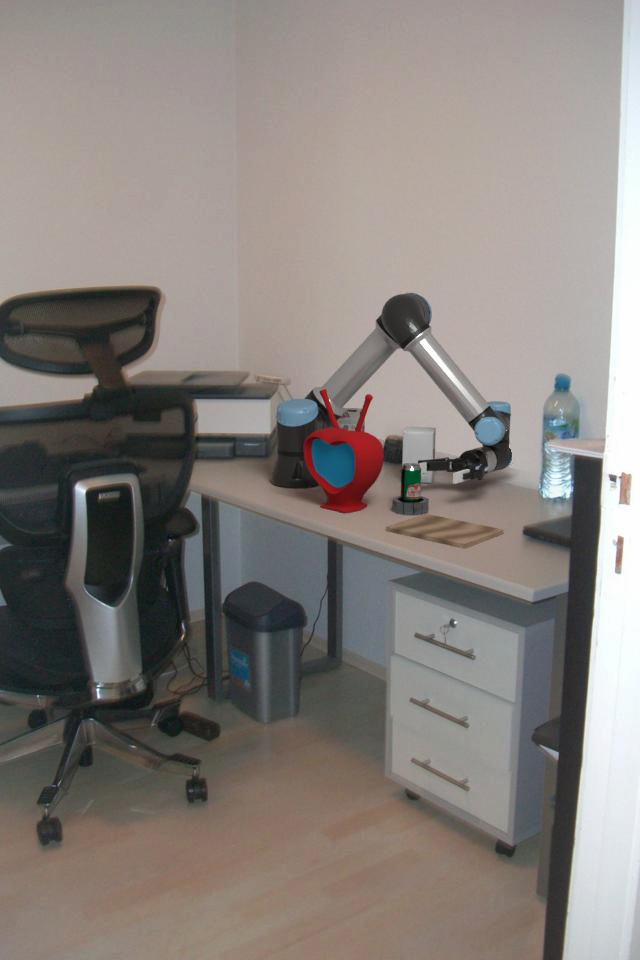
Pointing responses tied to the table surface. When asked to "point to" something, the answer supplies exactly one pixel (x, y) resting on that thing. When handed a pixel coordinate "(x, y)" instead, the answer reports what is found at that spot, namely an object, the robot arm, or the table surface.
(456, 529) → the walnut board
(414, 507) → the sleeve
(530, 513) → the table surface
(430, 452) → the supplement box
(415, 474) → the soda can
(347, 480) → the novelty television
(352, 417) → the candy bar box
